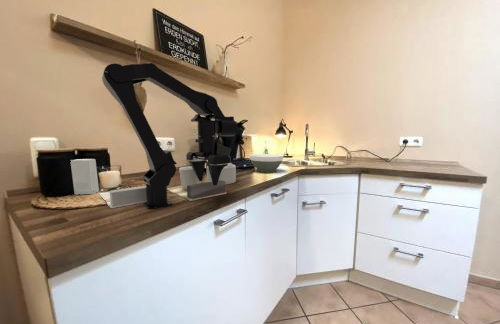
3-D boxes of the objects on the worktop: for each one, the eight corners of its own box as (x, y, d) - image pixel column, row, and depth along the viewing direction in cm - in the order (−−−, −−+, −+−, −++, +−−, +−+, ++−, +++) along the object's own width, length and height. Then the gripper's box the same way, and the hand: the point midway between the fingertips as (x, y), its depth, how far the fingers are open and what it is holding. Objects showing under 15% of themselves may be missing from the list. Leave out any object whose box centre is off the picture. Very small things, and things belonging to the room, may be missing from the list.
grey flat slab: (161, 199, 71) (160, 185, 71) (110, 208, 62) (109, 192, 62) (142, 188, 86) (141, 177, 86) (99, 194, 77) (98, 181, 76)
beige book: (226, 193, 79) (226, 181, 78) (190, 200, 69) (189, 187, 69) (198, 184, 94) (198, 174, 93) (165, 189, 84) (165, 178, 84)
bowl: (271, 175, 117) (272, 157, 116) (243, 171, 129) (243, 155, 128) (289, 170, 132) (289, 154, 131) (262, 167, 144) (262, 153, 143)
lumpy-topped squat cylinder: (204, 182, 99) (203, 163, 98) (227, 178, 108) (227, 160, 107) (217, 186, 91) (217, 165, 90) (241, 181, 100) (241, 162, 99)
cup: (172, 187, 86) (171, 166, 85) (191, 184, 92) (190, 165, 91) (186, 192, 78) (185, 169, 77) (205, 188, 84) (205, 167, 83)
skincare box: (99, 191, 81) (97, 158, 80) (92, 194, 77) (89, 159, 75) (81, 192, 81) (78, 158, 79) (72, 195, 76) (69, 160, 75)
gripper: (243, 136, 71) (243, 184, 73) (212, 136, 85) (213, 176, 87) (214, 136, 64) (215, 189, 66) (185, 136, 78) (186, 180, 80)
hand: (207, 183), depth 75 cm, fingers open, 9 cm apart
